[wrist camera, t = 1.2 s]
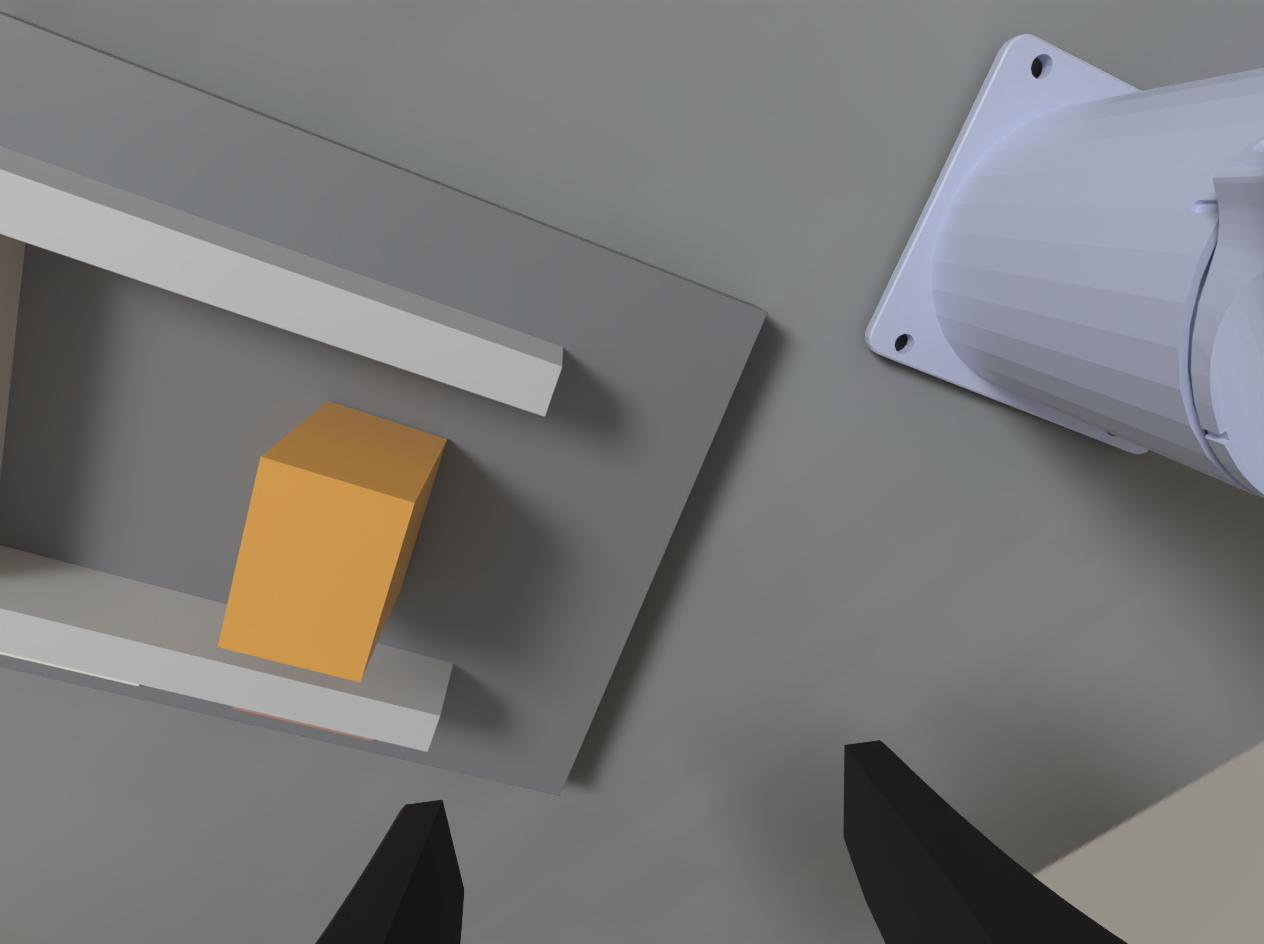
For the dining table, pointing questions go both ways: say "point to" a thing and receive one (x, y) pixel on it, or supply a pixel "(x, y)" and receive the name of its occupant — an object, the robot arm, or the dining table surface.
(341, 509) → the block
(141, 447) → the grey tray
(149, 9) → the dining table surface
